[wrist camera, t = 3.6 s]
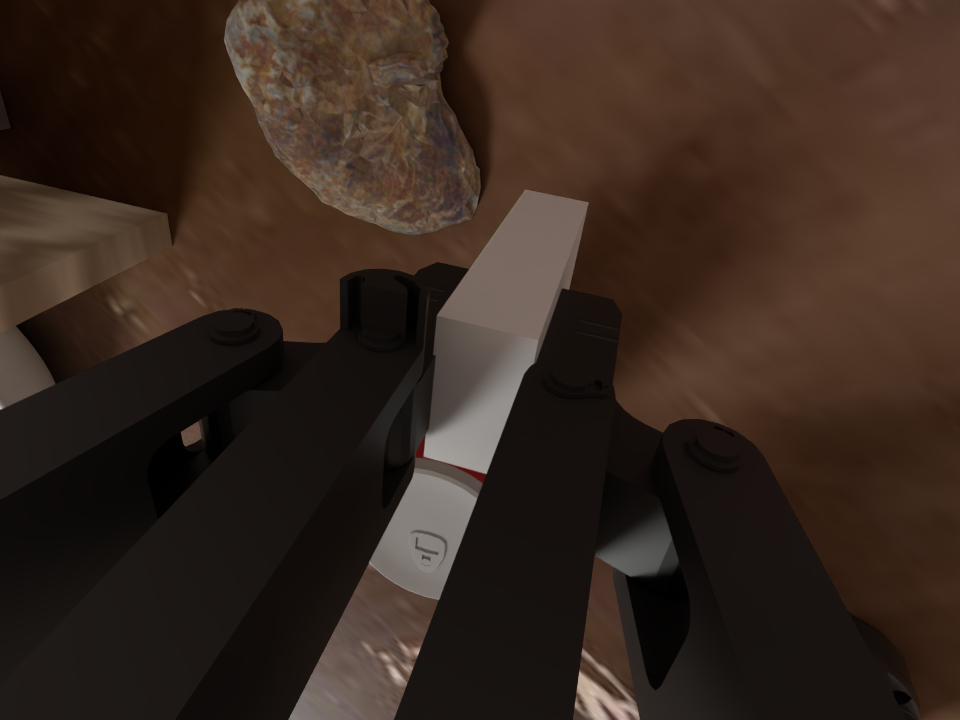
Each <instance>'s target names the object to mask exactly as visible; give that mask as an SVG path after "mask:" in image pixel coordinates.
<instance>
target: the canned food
mask: <svg viewBox="0 0 960 720" xmlns="http://www.w3.org/2000/svg"><path fill="white" fill-rule="evenodd" d="M425 437H426V434H425V436H424V438H423V440H422V442H421V444H420V446H419V447H418V449H417V451H416V460H415V469H414V474H413V478H412V480H411V482H410V484H409V486H408V488H407V490H406V492H405V494H404V496H403V498H402V499H401V501H400V503H399V505H398V507H397V509H396V511H395V513H394V515H393V517H392V519H391V521H390V523H389V525H388V527H387V529H386V531H385V533H384V534H383V536H382V538H381V540H380V542H379V544H378V546H377V548H376V550H375V552H374V554H373V556H372V558H371V560H370V562H369V563H370V564H371V565H372V566H373V567H374V568H375V569H377V570H378V571H379V572H380V573H381V574H382V575H383V576H385V577H386V578H388V579H389V580H391V581H392V582H394V583H395V584H397V585H399V586H401V587H403V588H405V589H407V590H409V591H411V592H414V593H416V594H419V595H422V596H425V597H429V598H434V599H438V600H439V599H440V596H441V593H442V591H443V588H444V585H445V583H446V580H447V577H448V575H449V572H450V569H451V567H452V564H453V561H454V559H455V556H456V554H457V551H458V548H459V546H460V543H461V540H462V538H463V535H464V532H465V530H466V527H467V524H468V522H469V519H470V516H471V514H472V511H473V508H474V506H475V503H476V500H477V498H478V495H479V492H480V490H481V487H482V484H483V482H484V479H485V476H486V474H485V473H481V472H478V471H474V470H470V469H467V468H463V467H460V466H456V465H452V464H449V463H445V462H442V461H438V460H434V459H431V458H427V457H424V447H425Z"/></svg>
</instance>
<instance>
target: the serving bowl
mask: <svg viewBox="0 0 960 720" xmlns="http://www.w3.org/2000/svg"><path fill="white" fill-rule="evenodd" d="M53 385H55V381H54V379H53V377H52V375H51V373H50V372H49V370H48V368H47V366H46V365H45V363H44V361H43V360H42V358H41V357H40V356H39V354H38V353H37V351H36V350H35V349H34V347H33V346H32V345H31V343H30V342H29V341H28V340H27V338H26V337H25V336H24V335H23V334H22V333H21V331H20V330H19V329H18V328H17V327H16V326H14V327H12V328H10V329H8V330H6V331H4V332H2V333H0V410H1V409H3V408H5V407H7V406H10V405H12V404H14V403H16V402H18V401H20V400H22V399H25V398H27V397H29V396H31V395H33V394H35V393H38V392H40V391H42V390H44V389H46V388H48V387H51V386H53Z"/></svg>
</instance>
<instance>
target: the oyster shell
mask: <svg viewBox="0 0 960 720" xmlns="http://www.w3.org/2000/svg"><path fill="white" fill-rule="evenodd" d="M224 42H225V45H226V48H227V51H228V54H229V56H230V59H231V61H232V64H233V67H234V70H235V73H236V76H237V78H238V80H239V82H240V84H241V86H242V88H243V90H244V91H245V93H246V94H247V96H248V97H249V99H250V101H251V102H252V104H253V106H254V109H255V112H256V116H257V119H258V122H259V124H260V126H261V128H262V129H263V132H264V135H265V137H266V139H267V141H268V143H269V145H270V146H271V148H272V149H273V152H274V154H275V156H276V157H277V158H279V159H280V160H281V162H282V163H283V164H284V165H285V166H286V167H287V168H288V169H289V170H290V171H291V172H292V173H293V175H295V176H296V177H298V178H299V179H300V180H301V181H302V182H303V183H305V184H306V185H307V186H308V187H309V188H310V189H311V190H313V191H314V193H315V194H316V195H317V196H318V197H319V199H320V200H321V201H322V202H323V203H325V204H327V205H331V206H332V207H334V208H336V209H339V210H341V211H342V212H344V213H345V214H347V215H349V216H352V217H356V218H359V219H362V220H364V221H367V222H371V223H374V224H377V225H379V226H381V227H383V228H385V229H388V230H391V231H393V232H396V233H404V234H411V235H417V234H423V233H428V232H436V231H438V230H439V229H442V228H444V227H447V226H450V225H453V224H458V223H461V222H464V221H468V220H470V219H472V218H473V215H474V213H475V210H476V207H477V205H478V204H477V203H478V198H479V194H480V189H481V184H480V169H479V168H478V167H477V166H476V162H475V158H474V154H473V149H472V148H471V146H470V145H469V143H468V142H467V140H466V138H465V135H464V133H463V131H462V129H461V127H460V126H459V124H458V121H457V118H456V115H455V114H454V112H453V111H452V109H451V108H450V107H449V105H448V103H447V102H446V100H445V98H444V97H443V93H442V88H441V79H440V72H441V71H442V70H443V62H444V61H445V60H446V58H447V57H448V56H447V50H446V48H447V46H448V43H449V42H448V40H447V37H446V35H445V33H444V27H443V25H442V24H441V22H440V16H439V13H438V12H437V10H436V9H435V8H434V7H433V6H432V5H431V4H430V2H429V0H239V1H238V2H237V4H236V5H235V7H234V8H233V10H232V11H231V13H230V15H229V17H228V19H227V23H226V30H225V37H224Z"/></svg>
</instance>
